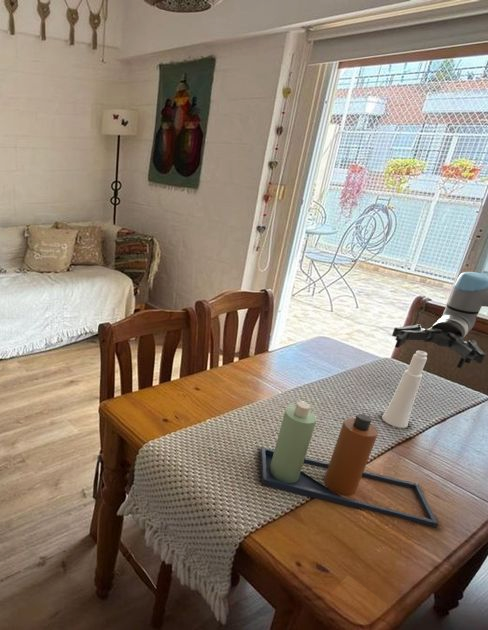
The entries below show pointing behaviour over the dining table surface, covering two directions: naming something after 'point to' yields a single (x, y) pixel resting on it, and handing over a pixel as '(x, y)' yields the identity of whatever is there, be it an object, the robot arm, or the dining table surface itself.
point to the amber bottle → (350, 455)
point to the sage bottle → (293, 442)
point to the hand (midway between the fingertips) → (428, 352)
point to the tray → (319, 491)
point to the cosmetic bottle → (406, 393)
